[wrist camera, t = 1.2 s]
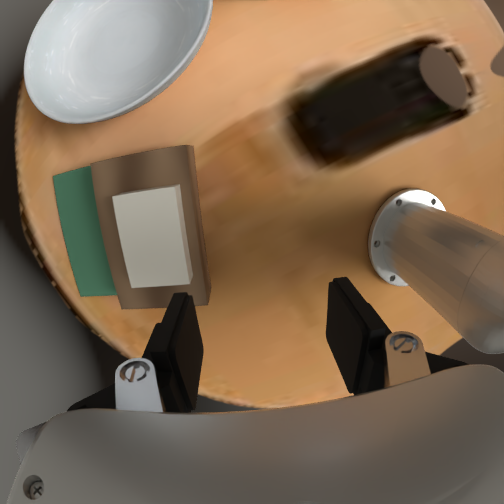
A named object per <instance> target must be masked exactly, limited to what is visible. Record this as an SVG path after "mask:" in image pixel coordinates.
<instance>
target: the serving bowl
mask: <svg viewBox="0 0 504 504" xmlns="http://www.w3.org/2000/svg"><path fill="white" fill-rule="evenodd" d="M212 8H213V0H53V1H52V3H51V4H50V5H49V6H48V8H47V9H46V10H45V12H44V13H43V15H42V16H41V18H40V20H39V22H38V23H37V25H36V27H35V29H34V31H33V33H32V35H31V38H30V41H29V43H28V47H27V51H26V55H25V61H24V79H25V85H26V89H27V92H28V94H29V97H30V99H31V100H32V102H33V103H34V105H35V106H36V107H37V108H38V110H40V111H41V112H42V113H43V114H44V115H46V116H47V117H49V118H51V119H53V120H56V121H59V122H63V123H70V124H86V123H93V122H99V121H104V120H108V119H112V118H115V117H118V116H121V115H123V114H126V113H128V112H130V111H132V110H134V109H136V108H138V107H140V106H142V105H144V104H145V103H147V102H149V101H150V100H152V99H153V98H155V97H156V96H157V95H159V94H160V93H161V92H163V91H164V90H165V89H166V88H167V87H169V86H170V85H171V84H172V83H173V82H174V81H175V80H176V79H177V78H178V77H179V76H180V75H181V74H182V73H183V71H184V70H185V69H186V68H187V67H188V65H189V64H190V63H191V61H192V60H193V59H194V57H195V56H196V54H197V52H198V51H199V49H200V47H201V45H202V43H203V41H204V39H205V36H206V34H207V31H208V28H209V25H210V20H211V15H212Z"/></svg>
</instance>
